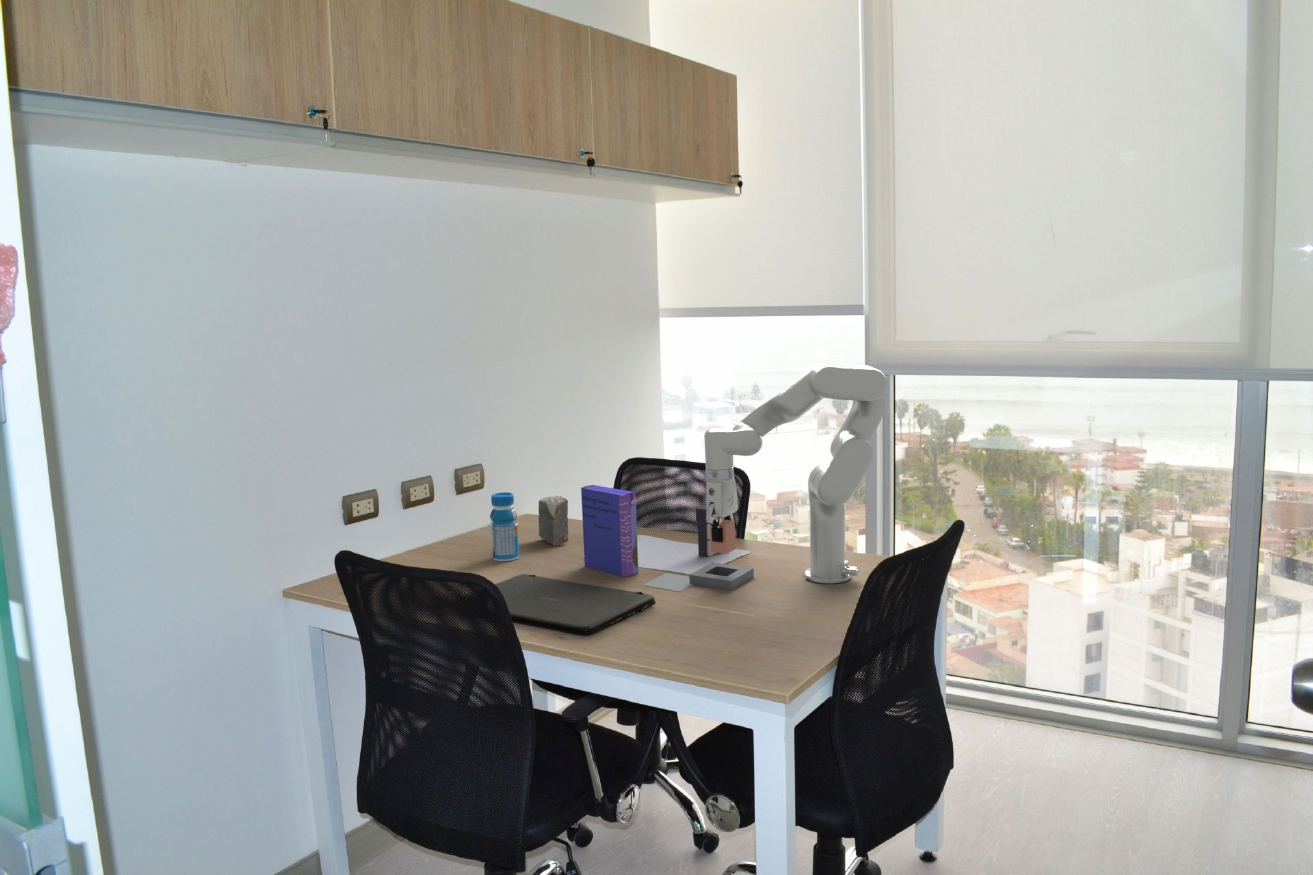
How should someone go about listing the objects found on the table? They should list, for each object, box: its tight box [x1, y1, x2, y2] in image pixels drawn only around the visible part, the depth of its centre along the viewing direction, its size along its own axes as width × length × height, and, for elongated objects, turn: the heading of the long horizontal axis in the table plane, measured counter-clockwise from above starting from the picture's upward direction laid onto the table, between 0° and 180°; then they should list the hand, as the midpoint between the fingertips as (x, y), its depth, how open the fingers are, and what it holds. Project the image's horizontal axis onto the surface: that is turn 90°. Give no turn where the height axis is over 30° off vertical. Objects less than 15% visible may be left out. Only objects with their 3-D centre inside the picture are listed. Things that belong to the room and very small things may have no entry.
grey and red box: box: [695, 504, 723, 558], centre depth 296 cm, size 11×4×15 cm, turn 143°
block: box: [710, 520, 737, 555], centre depth 267 cm, size 5×5×8 cm
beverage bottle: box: [489, 492, 520, 562], centre depth 297 cm, size 8×8×20 cm
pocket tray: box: [688, 561, 755, 591], centre depth 269 cm, size 13×13×3 cm
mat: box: [642, 572, 695, 593], centre depth 269 cm, size 12×12×1 cm
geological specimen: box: [538, 495, 569, 546], centre depth 314 cm, size 11×6×15 cm, turn 33°
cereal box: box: [580, 484, 639, 578], centre depth 281 cm, size 17×5×24 cm, turn 47°
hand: (722, 538), depth 267 cm, fingers closed on block, 5 cm apart
